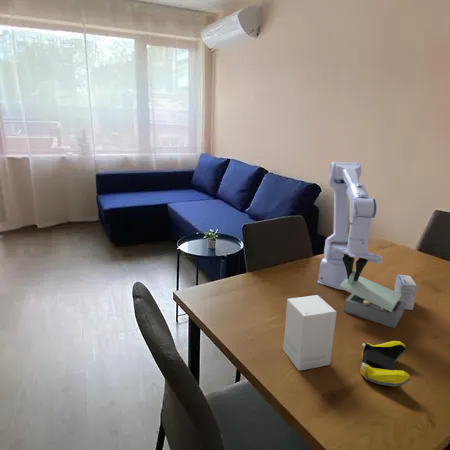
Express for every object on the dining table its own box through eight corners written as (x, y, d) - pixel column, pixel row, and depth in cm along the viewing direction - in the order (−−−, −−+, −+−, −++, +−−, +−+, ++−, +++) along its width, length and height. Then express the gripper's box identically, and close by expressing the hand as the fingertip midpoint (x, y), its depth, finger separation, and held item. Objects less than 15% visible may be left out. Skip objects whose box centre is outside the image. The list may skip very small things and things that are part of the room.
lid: (338, 289, 111) (342, 276, 109) (350, 276, 120) (355, 264, 118) (390, 314, 103) (395, 300, 101) (399, 298, 112) (405, 286, 110)
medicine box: (413, 310, 117) (417, 286, 114) (398, 308, 118) (402, 284, 115) (406, 299, 124) (410, 275, 122) (392, 297, 125) (396, 274, 122)
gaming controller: (402, 358, 93) (360, 349, 97) (405, 340, 92) (363, 331, 95) (406, 399, 80) (358, 386, 83) (411, 378, 78) (362, 366, 82)
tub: (344, 311, 115) (345, 300, 114) (355, 298, 123) (357, 287, 122) (394, 328, 106) (396, 316, 105) (403, 313, 115) (405, 301, 114)
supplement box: (331, 365, 90) (338, 311, 86) (298, 372, 87) (304, 316, 83) (312, 344, 98) (318, 293, 94) (282, 349, 96) (286, 297, 91)
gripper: (330, 235, 110) (325, 277, 114) (380, 246, 102) (373, 290, 106) (338, 230, 116) (333, 270, 120) (386, 240, 108) (379, 282, 112)
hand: (352, 279), depth 113 cm, fingers closed on lid
